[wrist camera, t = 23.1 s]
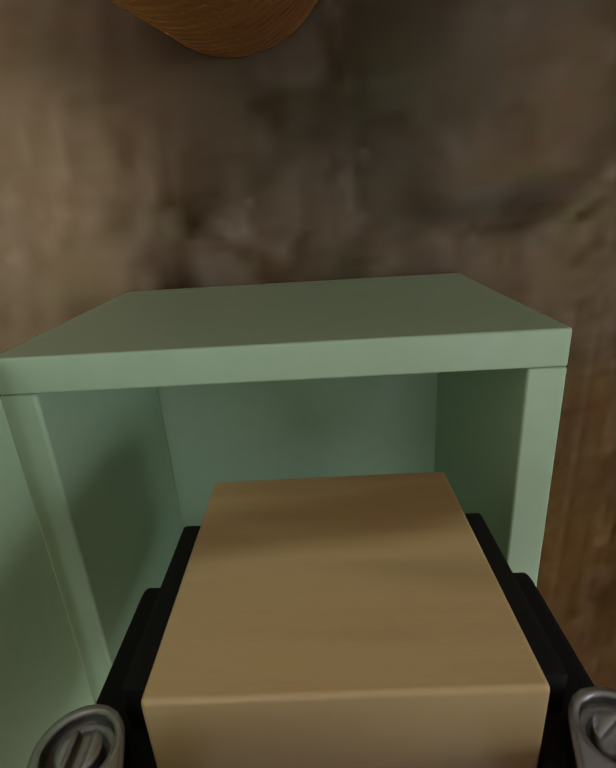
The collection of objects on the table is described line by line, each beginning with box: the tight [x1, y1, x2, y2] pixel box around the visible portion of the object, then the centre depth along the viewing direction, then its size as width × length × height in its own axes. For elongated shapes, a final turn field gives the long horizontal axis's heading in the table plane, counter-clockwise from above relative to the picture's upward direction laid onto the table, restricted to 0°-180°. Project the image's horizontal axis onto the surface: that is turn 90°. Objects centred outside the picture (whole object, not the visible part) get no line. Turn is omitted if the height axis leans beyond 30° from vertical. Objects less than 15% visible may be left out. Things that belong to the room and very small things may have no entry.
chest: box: [0, 273, 572, 704], centre depth 15 cm, size 12×11×8 cm
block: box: [141, 472, 550, 768], centre depth 9 cm, size 5×5×5 cm
